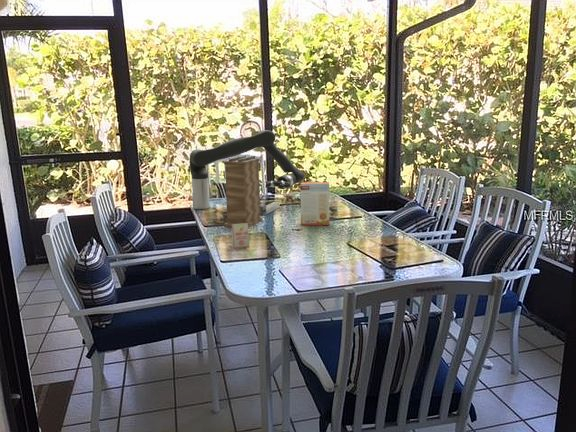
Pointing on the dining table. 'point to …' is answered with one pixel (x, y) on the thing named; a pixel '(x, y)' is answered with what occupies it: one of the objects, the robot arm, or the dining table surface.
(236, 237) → the small beige carton
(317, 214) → the cracker box
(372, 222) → the dining table surface
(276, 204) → the steel bar
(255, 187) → the walnut stand
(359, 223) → the dining table surface
